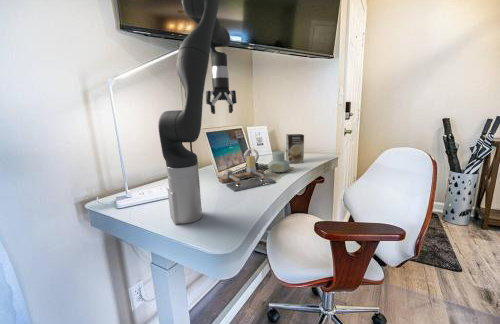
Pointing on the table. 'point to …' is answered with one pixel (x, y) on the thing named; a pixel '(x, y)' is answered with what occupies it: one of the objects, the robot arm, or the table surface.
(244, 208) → the table surface
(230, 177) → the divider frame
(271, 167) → the air freshener
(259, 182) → the bolt plate
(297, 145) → the coffee box
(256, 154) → the watch
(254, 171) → the sliding leg
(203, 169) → the table surface
